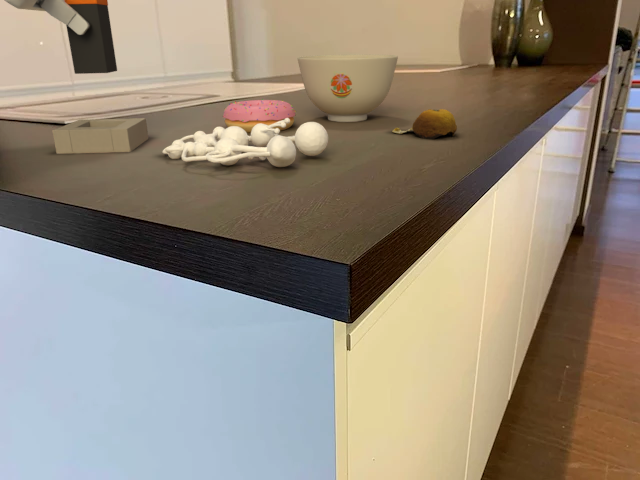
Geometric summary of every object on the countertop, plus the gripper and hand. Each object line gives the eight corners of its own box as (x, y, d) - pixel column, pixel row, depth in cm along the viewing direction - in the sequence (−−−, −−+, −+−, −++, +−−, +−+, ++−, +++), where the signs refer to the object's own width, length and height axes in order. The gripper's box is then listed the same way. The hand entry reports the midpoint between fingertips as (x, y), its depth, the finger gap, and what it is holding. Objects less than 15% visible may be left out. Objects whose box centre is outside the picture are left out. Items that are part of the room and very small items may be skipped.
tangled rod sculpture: (130, 172, 62) (122, 137, 60) (216, 141, 72) (211, 110, 71) (262, 190, 51) (257, 148, 50) (339, 151, 62) (337, 115, 61)
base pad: (56, 154, 66) (51, 130, 65) (83, 141, 75) (79, 119, 74) (130, 153, 67) (127, 128, 66) (148, 139, 75) (145, 118, 74)
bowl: (410, 116, 92) (413, 54, 88) (369, 130, 79) (370, 59, 76) (330, 111, 100) (329, 54, 96) (280, 123, 87) (277, 58, 83)
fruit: (438, 128, 80) (439, 103, 78) (472, 137, 72) (475, 110, 71) (388, 133, 77) (389, 107, 76) (419, 143, 70) (420, 114, 68)
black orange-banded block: (74, 73, 66) (59, -7, 63) (85, 71, 70) (73, -5, 66) (108, 73, 66) (95, -8, 63) (118, 70, 70) (106, -6, 67)
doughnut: (209, 130, 82) (206, 102, 80) (261, 121, 89) (260, 95, 88) (259, 138, 75) (257, 107, 73) (310, 127, 83) (310, 99, 81)
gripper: (-43, -102, 52) (79, 6, 56) (47, -66, 71) (133, 13, 75) (-77, -49, 53) (43, 53, 57) (20, -27, 72) (105, 48, 76)
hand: (94, 30), depth 66 cm, fingers closed on black orange-banded block, 4 cm apart
